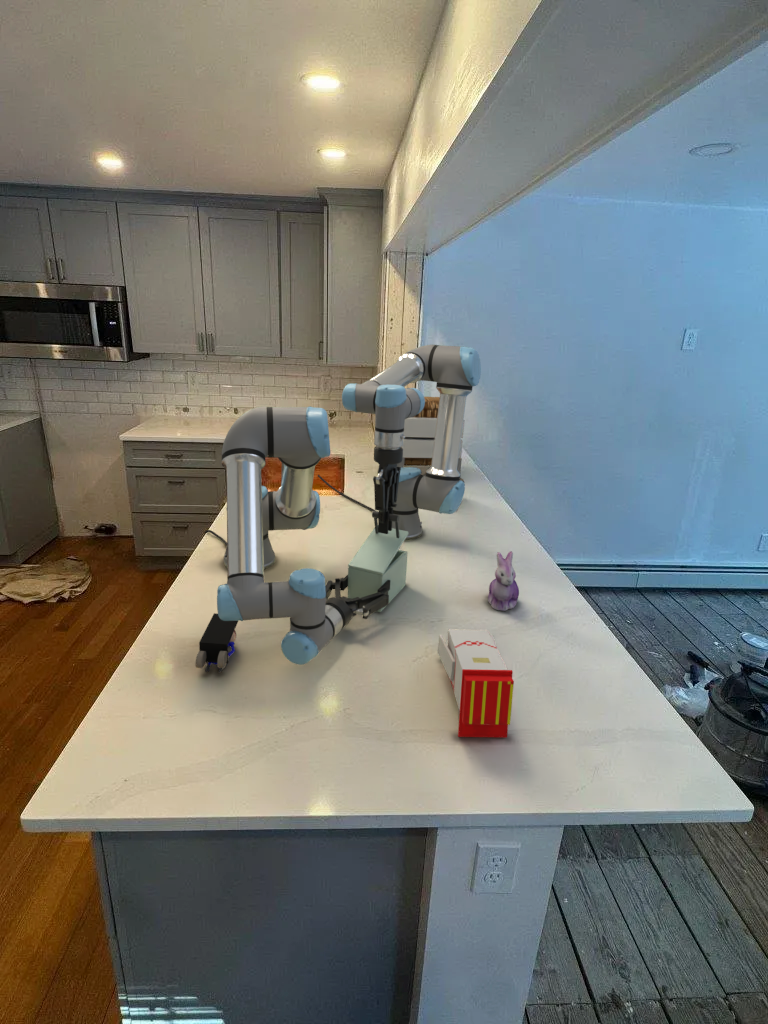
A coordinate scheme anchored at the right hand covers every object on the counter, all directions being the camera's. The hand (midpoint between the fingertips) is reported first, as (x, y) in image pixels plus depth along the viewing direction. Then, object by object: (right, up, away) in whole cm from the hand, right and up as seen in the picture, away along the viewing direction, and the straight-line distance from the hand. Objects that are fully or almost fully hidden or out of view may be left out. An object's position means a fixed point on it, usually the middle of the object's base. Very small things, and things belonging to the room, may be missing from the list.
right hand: (384, 531), depth 154 cm
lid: (-2, -5, -1) cm, 5 cm away
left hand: (-4, -13, -3) cm, 14 cm away
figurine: (+32, -20, +1) cm, 38 cm away
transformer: (+17, +24, +121) cm, 124 cm away
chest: (-2, -18, +3) cm, 18 cm away
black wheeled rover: (-37, -27, -28) cm, 54 cm away
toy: (+18, -33, -36) cm, 51 cm away
